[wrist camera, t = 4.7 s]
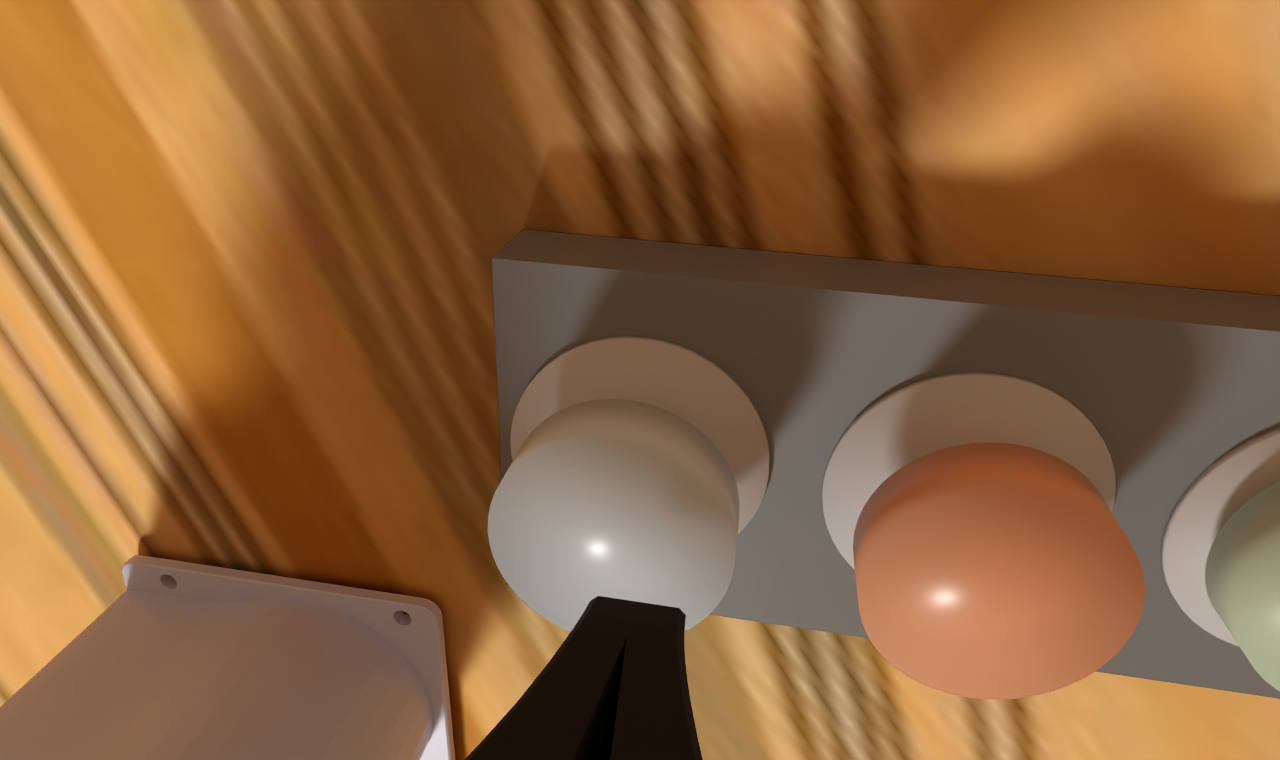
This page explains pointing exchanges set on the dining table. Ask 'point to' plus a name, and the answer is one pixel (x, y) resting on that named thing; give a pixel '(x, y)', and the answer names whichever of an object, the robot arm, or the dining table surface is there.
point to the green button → (1250, 581)
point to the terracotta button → (994, 572)
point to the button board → (911, 403)
